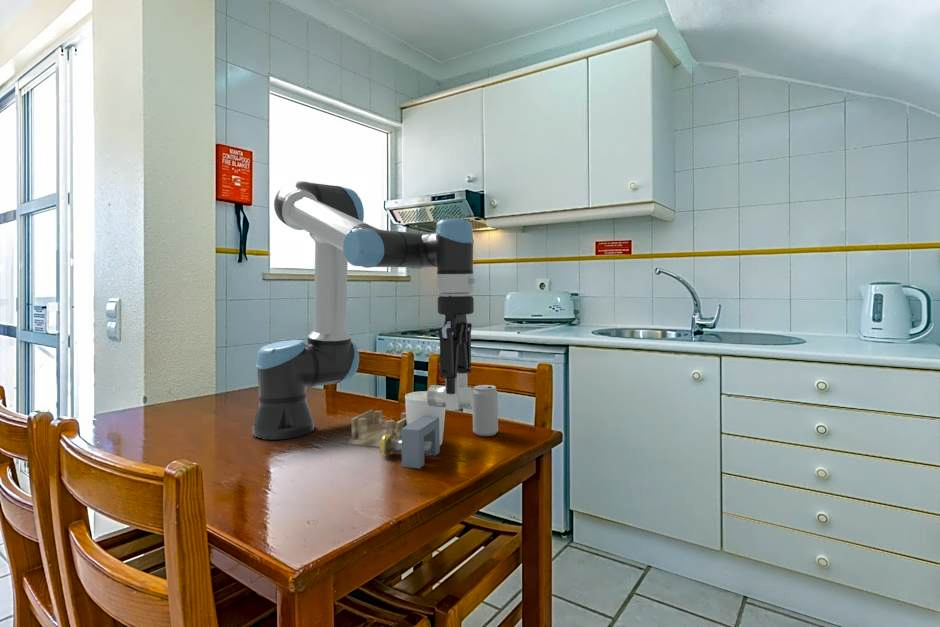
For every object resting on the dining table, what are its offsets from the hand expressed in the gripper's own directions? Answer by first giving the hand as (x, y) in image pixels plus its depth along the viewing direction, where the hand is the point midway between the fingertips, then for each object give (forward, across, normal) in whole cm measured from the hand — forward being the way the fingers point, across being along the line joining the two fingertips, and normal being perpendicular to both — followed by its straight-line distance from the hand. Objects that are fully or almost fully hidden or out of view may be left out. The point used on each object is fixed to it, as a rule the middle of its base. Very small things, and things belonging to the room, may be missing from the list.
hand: (456, 405), depth 110 cm
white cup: (+13, +10, +12) cm, 21 cm away
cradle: (+12, +10, +23) cm, 28 cm away
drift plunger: (+12, 0, +12) cm, 17 cm away
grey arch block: (+12, 0, +8) cm, 15 cm away
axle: (-2, 0, +1) cm, 2 cm away
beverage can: (+13, +22, +1) cm, 26 cm away
